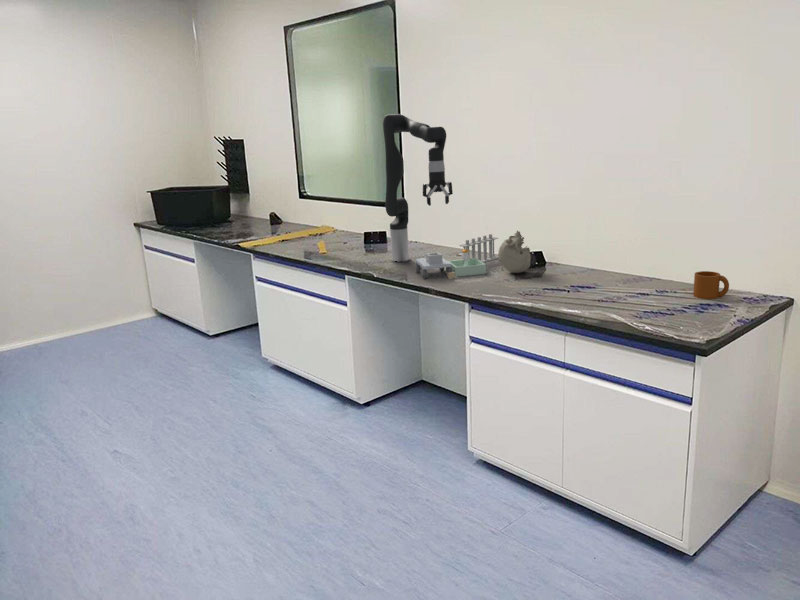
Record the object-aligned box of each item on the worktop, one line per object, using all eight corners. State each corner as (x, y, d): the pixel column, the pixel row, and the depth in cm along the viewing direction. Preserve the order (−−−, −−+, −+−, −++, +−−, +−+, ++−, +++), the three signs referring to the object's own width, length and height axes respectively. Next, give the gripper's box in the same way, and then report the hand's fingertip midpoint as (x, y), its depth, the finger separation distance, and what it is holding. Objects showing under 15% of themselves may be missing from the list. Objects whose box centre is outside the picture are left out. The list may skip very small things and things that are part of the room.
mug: (723, 301, 234) (725, 278, 231) (690, 297, 241) (691, 275, 239) (730, 295, 240) (732, 273, 237) (697, 291, 248) (698, 269, 245)
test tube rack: (466, 268, 309) (465, 241, 306) (459, 266, 313) (459, 240, 309) (498, 258, 325) (498, 233, 321) (492, 257, 328) (491, 232, 325)
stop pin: (462, 269, 302) (461, 249, 300) (467, 269, 303) (467, 249, 300) (464, 271, 300) (463, 250, 297) (469, 270, 300) (469, 250, 297)
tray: (447, 269, 307) (446, 261, 306) (475, 266, 310) (475, 257, 309) (455, 276, 293) (455, 267, 292) (486, 273, 296) (486, 264, 295)
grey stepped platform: (415, 271, 308) (414, 250, 305) (443, 268, 310) (442, 247, 307) (425, 281, 288) (424, 259, 286) (455, 277, 291) (454, 255, 288)
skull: (530, 276, 286) (530, 233, 281) (497, 276, 290) (497, 233, 284) (530, 269, 298) (530, 228, 293) (499, 269, 301) (498, 228, 296)
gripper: (448, 168, 301) (450, 202, 305) (420, 171, 298) (421, 205, 302) (453, 169, 293) (454, 204, 298) (424, 172, 291) (425, 206, 295)
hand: (438, 204), depth 300 cm, fingers open, 8 cm apart
